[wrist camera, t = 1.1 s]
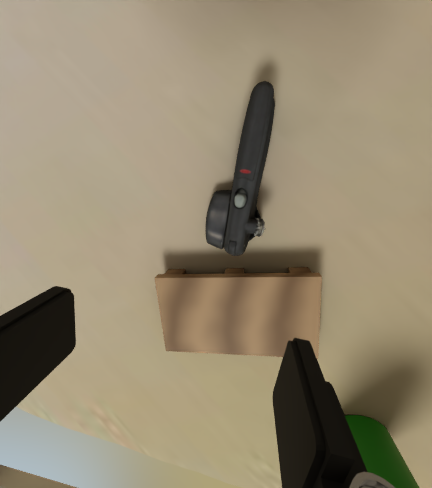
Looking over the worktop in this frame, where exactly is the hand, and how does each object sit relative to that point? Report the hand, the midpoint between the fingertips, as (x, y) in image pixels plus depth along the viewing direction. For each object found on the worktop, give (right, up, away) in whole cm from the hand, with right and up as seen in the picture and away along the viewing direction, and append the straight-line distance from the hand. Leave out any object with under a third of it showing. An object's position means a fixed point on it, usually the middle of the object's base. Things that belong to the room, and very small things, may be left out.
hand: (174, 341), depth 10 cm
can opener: (+5, +12, +18) cm, 22 cm away
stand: (+5, -4, +22) cm, 23 cm away
